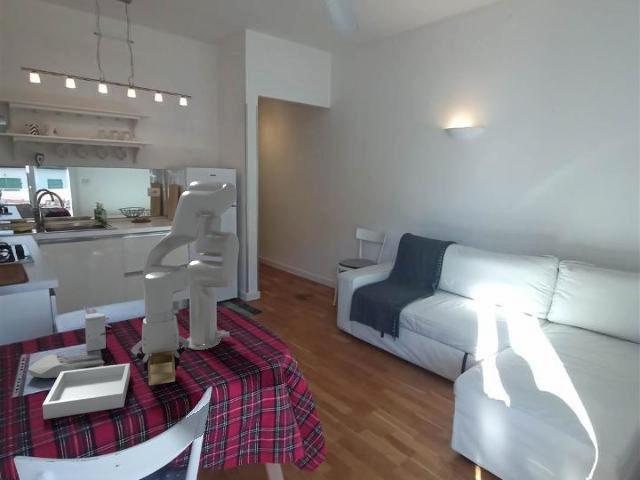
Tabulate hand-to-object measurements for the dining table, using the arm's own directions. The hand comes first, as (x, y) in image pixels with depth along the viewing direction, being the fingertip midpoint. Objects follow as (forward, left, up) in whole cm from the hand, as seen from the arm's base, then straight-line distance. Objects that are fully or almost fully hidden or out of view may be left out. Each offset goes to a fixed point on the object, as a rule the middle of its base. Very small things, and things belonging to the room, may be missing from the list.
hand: (162, 369), depth 115 cm
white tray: (+19, +2, -4) cm, 19 cm away
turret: (+28, -16, -4) cm, 33 cm away
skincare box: (+23, -30, -4) cm, 38 cm away
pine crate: (0, 0, -1) cm, 1 cm away
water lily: (+25, -49, -4) cm, 55 cm away
